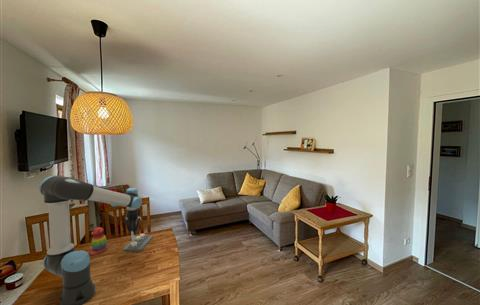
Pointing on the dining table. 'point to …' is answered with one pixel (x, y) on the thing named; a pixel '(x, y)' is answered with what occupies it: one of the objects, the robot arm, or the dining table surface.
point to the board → (138, 244)
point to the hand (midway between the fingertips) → (133, 239)
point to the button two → (138, 238)
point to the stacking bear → (98, 241)
